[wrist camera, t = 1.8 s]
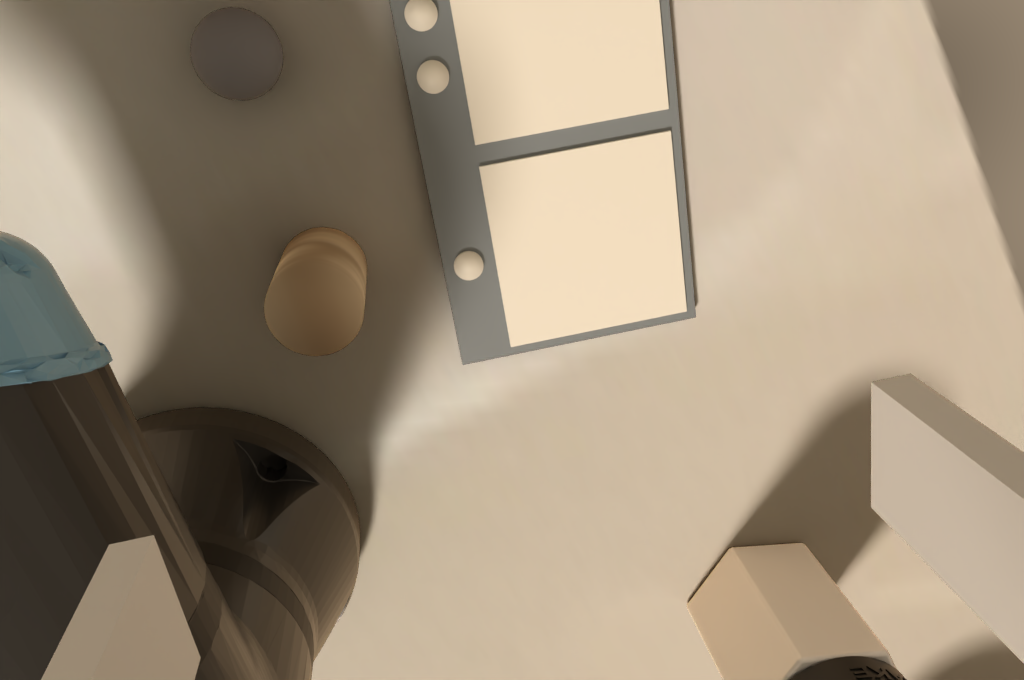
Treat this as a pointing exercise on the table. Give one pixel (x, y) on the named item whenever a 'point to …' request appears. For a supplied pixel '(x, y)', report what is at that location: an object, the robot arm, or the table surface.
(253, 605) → the robot arm
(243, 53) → the charcoal ball
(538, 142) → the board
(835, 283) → the table surface
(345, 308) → the beech cylinder
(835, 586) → the jar
